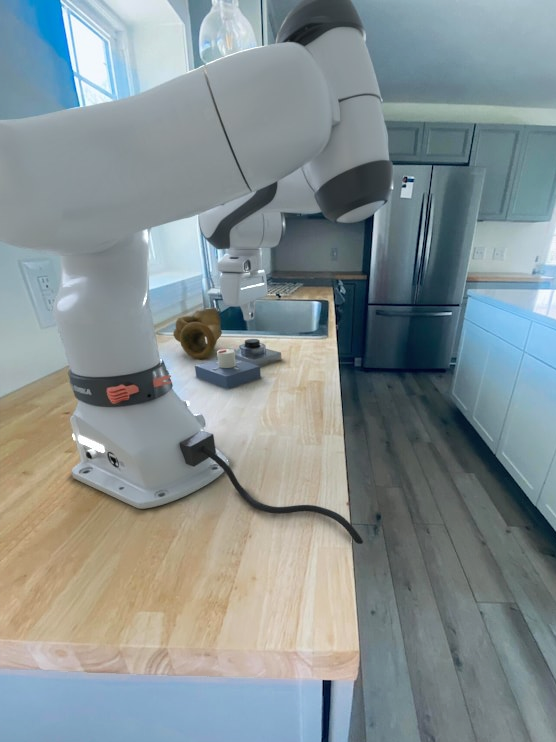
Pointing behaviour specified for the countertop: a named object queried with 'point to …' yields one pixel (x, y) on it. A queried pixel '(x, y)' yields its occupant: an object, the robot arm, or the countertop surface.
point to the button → (252, 343)
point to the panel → (228, 373)
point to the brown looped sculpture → (198, 332)
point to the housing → (257, 355)
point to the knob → (226, 358)
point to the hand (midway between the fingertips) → (249, 319)
